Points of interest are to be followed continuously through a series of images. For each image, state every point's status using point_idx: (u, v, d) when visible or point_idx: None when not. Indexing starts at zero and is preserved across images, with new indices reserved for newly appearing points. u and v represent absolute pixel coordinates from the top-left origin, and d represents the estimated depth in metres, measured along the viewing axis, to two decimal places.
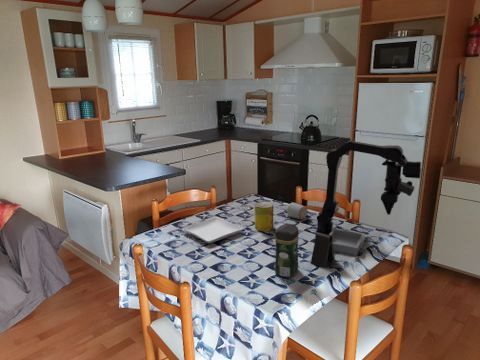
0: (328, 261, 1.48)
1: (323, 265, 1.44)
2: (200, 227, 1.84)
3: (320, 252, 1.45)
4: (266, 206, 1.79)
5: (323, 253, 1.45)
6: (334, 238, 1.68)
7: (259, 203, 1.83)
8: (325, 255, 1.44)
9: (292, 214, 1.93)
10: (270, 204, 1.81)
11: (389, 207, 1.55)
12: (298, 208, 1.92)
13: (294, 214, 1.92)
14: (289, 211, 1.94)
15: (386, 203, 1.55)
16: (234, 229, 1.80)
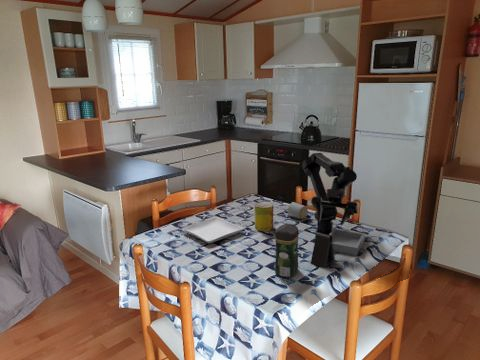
0: (328, 261, 1.48)
1: (323, 265, 1.44)
2: (200, 227, 1.84)
3: (320, 252, 1.45)
4: (266, 206, 1.79)
5: (323, 253, 1.45)
6: (334, 238, 1.68)
7: (259, 203, 1.83)
8: (325, 255, 1.44)
9: (293, 214, 1.94)
10: (270, 204, 1.81)
11: None
12: (299, 208, 1.92)
13: (295, 214, 1.93)
14: (289, 211, 1.95)
15: None
16: (234, 228, 1.80)
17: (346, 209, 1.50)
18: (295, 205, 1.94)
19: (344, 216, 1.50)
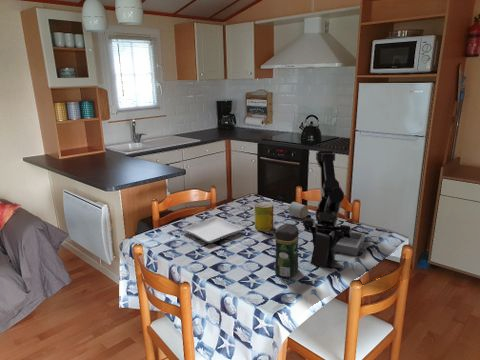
0: (328, 261, 1.48)
1: (323, 265, 1.44)
2: (200, 227, 1.84)
3: (320, 252, 1.45)
4: (266, 206, 1.79)
5: (323, 253, 1.45)
6: None
7: (259, 203, 1.83)
8: (325, 255, 1.44)
9: (293, 213, 1.94)
10: (270, 204, 1.81)
11: None
12: (299, 207, 1.92)
13: (295, 213, 1.93)
14: (290, 210, 1.95)
15: None
16: (234, 229, 1.80)
17: (336, 233, 1.45)
18: (296, 205, 1.95)
19: (333, 240, 1.45)
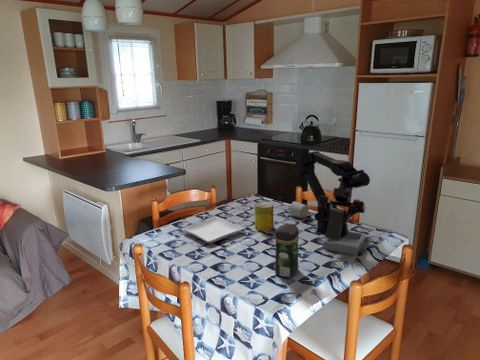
0: (342, 235, 1.56)
1: (337, 238, 1.52)
2: (200, 227, 1.84)
3: (334, 226, 1.53)
4: (266, 206, 1.79)
5: (337, 227, 1.52)
6: None
7: (259, 203, 1.83)
8: (339, 229, 1.52)
9: (294, 213, 1.95)
10: (270, 204, 1.81)
11: None
12: (300, 207, 1.93)
13: (296, 213, 1.94)
14: (291, 210, 1.96)
15: None
16: (234, 228, 1.80)
17: (349, 208, 1.52)
18: (296, 204, 1.95)
19: (347, 215, 1.52)
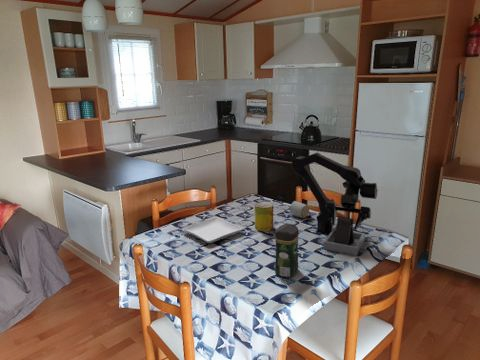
0: (349, 243, 1.62)
1: None
2: (200, 227, 1.84)
3: (342, 234, 1.59)
4: (266, 206, 1.79)
5: (345, 235, 1.58)
6: None
7: (259, 203, 1.83)
8: (347, 237, 1.57)
9: (294, 213, 1.95)
10: (270, 204, 1.81)
11: None
12: (301, 207, 1.93)
13: (296, 213, 1.94)
14: (291, 210, 1.96)
15: None
16: (234, 228, 1.80)
17: (359, 214, 1.57)
18: (297, 204, 1.95)
19: (358, 221, 1.57)
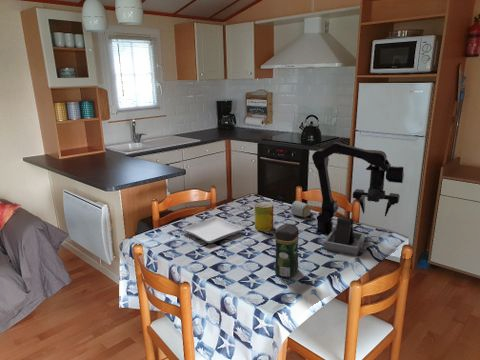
0: (349, 243, 1.62)
1: None
2: (200, 227, 1.84)
3: (342, 234, 1.59)
4: (266, 206, 1.79)
5: (345, 235, 1.58)
6: None
7: (259, 203, 1.83)
8: (347, 237, 1.57)
9: (296, 212, 1.96)
10: (270, 204, 1.81)
11: None
12: (302, 206, 1.94)
13: (298, 212, 1.95)
14: (293, 209, 1.97)
15: None
16: (234, 228, 1.80)
17: (388, 204, 1.58)
18: (298, 203, 1.96)
19: (387, 209, 1.60)
